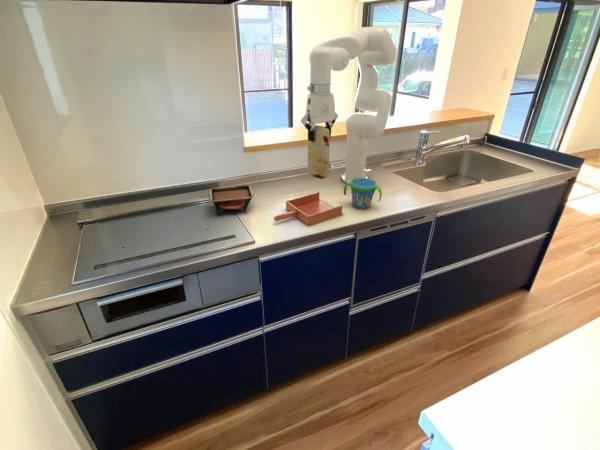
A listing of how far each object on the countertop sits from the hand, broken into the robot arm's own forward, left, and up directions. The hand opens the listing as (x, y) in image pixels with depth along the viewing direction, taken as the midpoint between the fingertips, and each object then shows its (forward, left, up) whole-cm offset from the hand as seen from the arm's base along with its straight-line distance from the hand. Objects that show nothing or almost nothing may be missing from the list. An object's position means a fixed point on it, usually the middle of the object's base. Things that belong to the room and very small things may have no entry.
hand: (319, 138), depth 129 cm
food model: (0, 0, -15) cm, 15 cm away
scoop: (+9, +2, -29) cm, 30 cm away
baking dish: (+30, -20, -29) cm, 46 cm away
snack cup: (-16, +8, -29) cm, 34 cm away
